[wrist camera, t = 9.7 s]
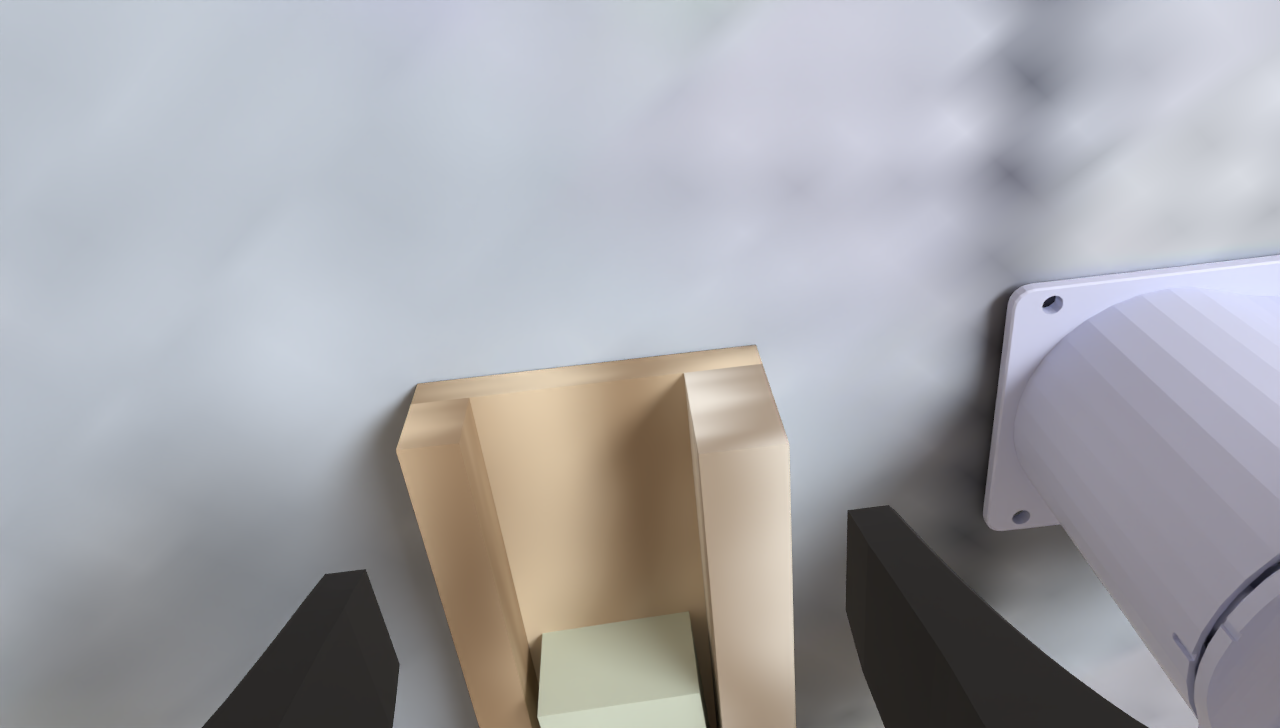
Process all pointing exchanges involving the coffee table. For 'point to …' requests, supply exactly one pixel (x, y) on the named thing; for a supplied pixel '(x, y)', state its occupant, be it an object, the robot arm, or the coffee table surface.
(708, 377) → the board
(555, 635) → the slab with grey handle
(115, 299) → the coffee table surface
